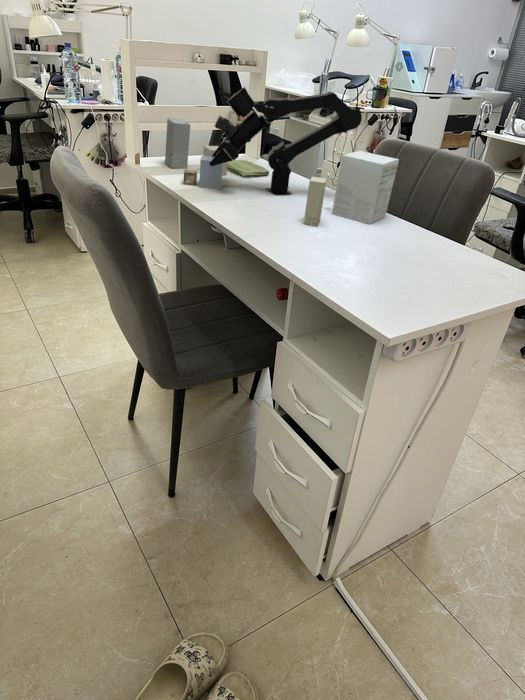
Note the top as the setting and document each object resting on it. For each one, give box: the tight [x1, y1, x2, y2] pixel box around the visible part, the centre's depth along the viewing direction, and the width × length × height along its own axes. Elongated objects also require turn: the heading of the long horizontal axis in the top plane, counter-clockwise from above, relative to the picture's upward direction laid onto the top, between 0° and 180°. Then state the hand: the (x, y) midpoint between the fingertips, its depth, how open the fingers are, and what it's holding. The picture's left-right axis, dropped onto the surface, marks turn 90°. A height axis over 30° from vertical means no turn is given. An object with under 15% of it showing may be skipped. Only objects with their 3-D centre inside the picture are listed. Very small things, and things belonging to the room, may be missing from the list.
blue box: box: [199, 155, 223, 190], centre depth 163 cm, size 7×7×9 cm
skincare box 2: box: [303, 176, 327, 227], centre depth 140 cm, size 6×4×12 cm
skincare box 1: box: [164, 117, 191, 170], centre depth 179 cm, size 8×7×16 cm
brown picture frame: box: [183, 169, 198, 187], centre depth 164 cm, size 4×4×4 cm
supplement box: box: [331, 150, 400, 225], centre depth 150 cm, size 13×13×18 cm
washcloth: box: [227, 159, 270, 178], centre depth 187 cm, size 13×18×3 cm
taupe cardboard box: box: [202, 145, 228, 176], centre depth 179 cm, size 7×7×9 cm
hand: (210, 162), depth 161 cm, fingers open, 9 cm apart
